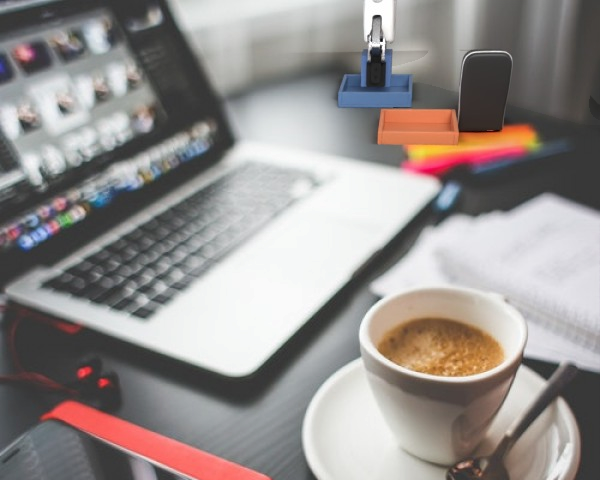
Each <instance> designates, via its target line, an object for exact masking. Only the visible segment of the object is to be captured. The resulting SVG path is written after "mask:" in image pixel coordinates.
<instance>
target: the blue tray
mask: <svg viewBox="0 0 600 480" xmlns="http://www.w3.org/2000/svg"><path fill="white" fill-rule="evenodd" d="M337 96H338V97H337V102H338V103H337V104H338V105H337V106H338V108H364V109H365V108H366V109H367V108H369V109H371V108H377V109H378V108H381V109H394V108H393V107H411V108H412V104H413V103H412V102H413V73H392V75H391V86H390V87H361V73H348V74H347V73H344V75H343V78H342V80H341V83H340V87H339V89H338V92H337Z"/></svg>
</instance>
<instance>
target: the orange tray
mask: <svg viewBox="0 0 600 480" xmlns="http://www.w3.org/2000/svg"><path fill="white" fill-rule="evenodd" d="M457 120H458V116H457V111H456V109H455V108H453V109H452V108H437V109H435V108H381V109H380V115H379V121H378V122H379V123H378V128H377V145H397V146H398V145H399V146H402V145H404V146H458V145H459V137H460V131H459V130H458V123H457Z"/></svg>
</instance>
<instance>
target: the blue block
mask: <svg viewBox="0 0 600 480" xmlns="http://www.w3.org/2000/svg"><path fill="white" fill-rule="evenodd" d="M381 56H382V54H381ZM367 62H368V48H364V49H362V52H361V55H360V74H361V87H367V86H366V67H367ZM385 62H386V81H385V86H384V87H390V86H391V75H392V74H393V71H392V70H393V48H386V49H385Z"/></svg>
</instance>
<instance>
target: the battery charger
mask: <svg viewBox="0 0 600 480" xmlns="http://www.w3.org/2000/svg"><path fill="white" fill-rule="evenodd" d="M512 73H513V57H512V55H511V54H510V53H509V52H508V51H506V50H505V49H502V48H476V49H475V48H474V49H470V50H468V51H466V52H465V54H464V55H463V57H462V61H461V66H460V74H459V85H458V86H459V94H458V96H459V97H458V113H457V123H458V130H459V132H467V131H487V130H501V131H503V129H504V119H505V115H506V114H505V113H506V107H507V102H508V98H509V91H510V86H511V82H512Z"/></svg>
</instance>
